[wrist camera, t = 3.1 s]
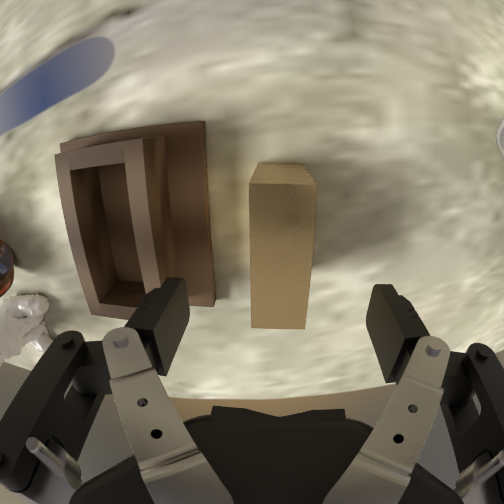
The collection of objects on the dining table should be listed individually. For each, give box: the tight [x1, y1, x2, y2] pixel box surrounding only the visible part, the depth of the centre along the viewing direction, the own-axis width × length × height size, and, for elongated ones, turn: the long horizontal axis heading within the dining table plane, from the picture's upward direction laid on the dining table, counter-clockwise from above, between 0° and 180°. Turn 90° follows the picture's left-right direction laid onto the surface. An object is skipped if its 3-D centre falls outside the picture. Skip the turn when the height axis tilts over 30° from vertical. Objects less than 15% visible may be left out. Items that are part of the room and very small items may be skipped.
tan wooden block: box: [249, 163, 318, 329], centre depth 17 cm, size 8×3×7 cm, turn 1°
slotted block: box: [55, 121, 216, 320], centre depth 19 cm, size 14×12×4 cm
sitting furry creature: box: [0, 293, 53, 366], centre depth 22 cm, size 10×9×12 cm
